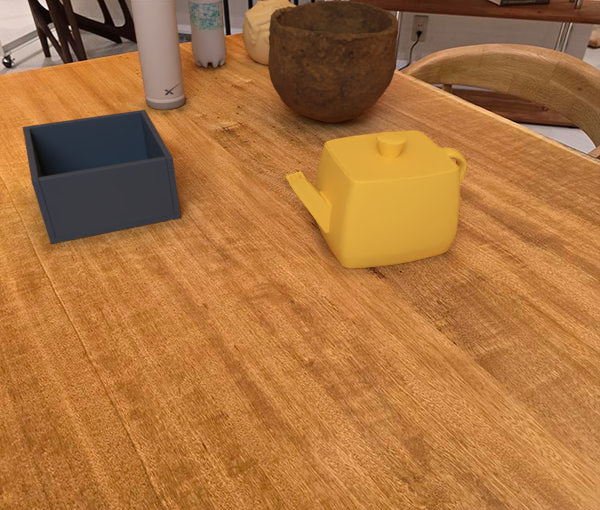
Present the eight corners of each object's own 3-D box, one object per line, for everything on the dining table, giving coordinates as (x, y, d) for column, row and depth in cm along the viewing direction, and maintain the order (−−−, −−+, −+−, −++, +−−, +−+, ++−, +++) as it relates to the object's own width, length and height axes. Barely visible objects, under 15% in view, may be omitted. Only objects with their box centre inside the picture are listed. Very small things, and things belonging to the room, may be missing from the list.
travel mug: (180, 112, 93) (164, -32, 80) (140, 108, 93) (117, -35, 81) (192, 97, 97) (178, -41, 85) (154, 94, 98) (134, -43, 85)
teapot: (302, 283, 59) (304, 177, 52) (272, 220, 68) (270, 122, 61) (479, 253, 64) (505, 152, 56) (429, 198, 73) (445, 104, 65)
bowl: (346, 155, 82) (354, 42, 72) (244, 121, 90) (239, 16, 81) (412, 114, 93) (426, 12, 84) (316, 87, 102) (319, -8, 92)
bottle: (233, 60, 112) (226, -62, 100) (220, 71, 107) (211, -55, 95) (200, 57, 114) (189, -64, 101) (186, 68, 109) (172, -58, 96)
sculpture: (250, 72, 107) (248, 8, 100) (238, 52, 116) (235, -8, 109) (311, 68, 110) (312, 4, 103) (294, 48, 118) (295, -11, 112)
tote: (50, 244, 64) (31, 181, 59) (39, 184, 74) (22, 126, 69) (181, 218, 68) (173, 157, 64) (153, 165, 79) (144, 109, 74)
